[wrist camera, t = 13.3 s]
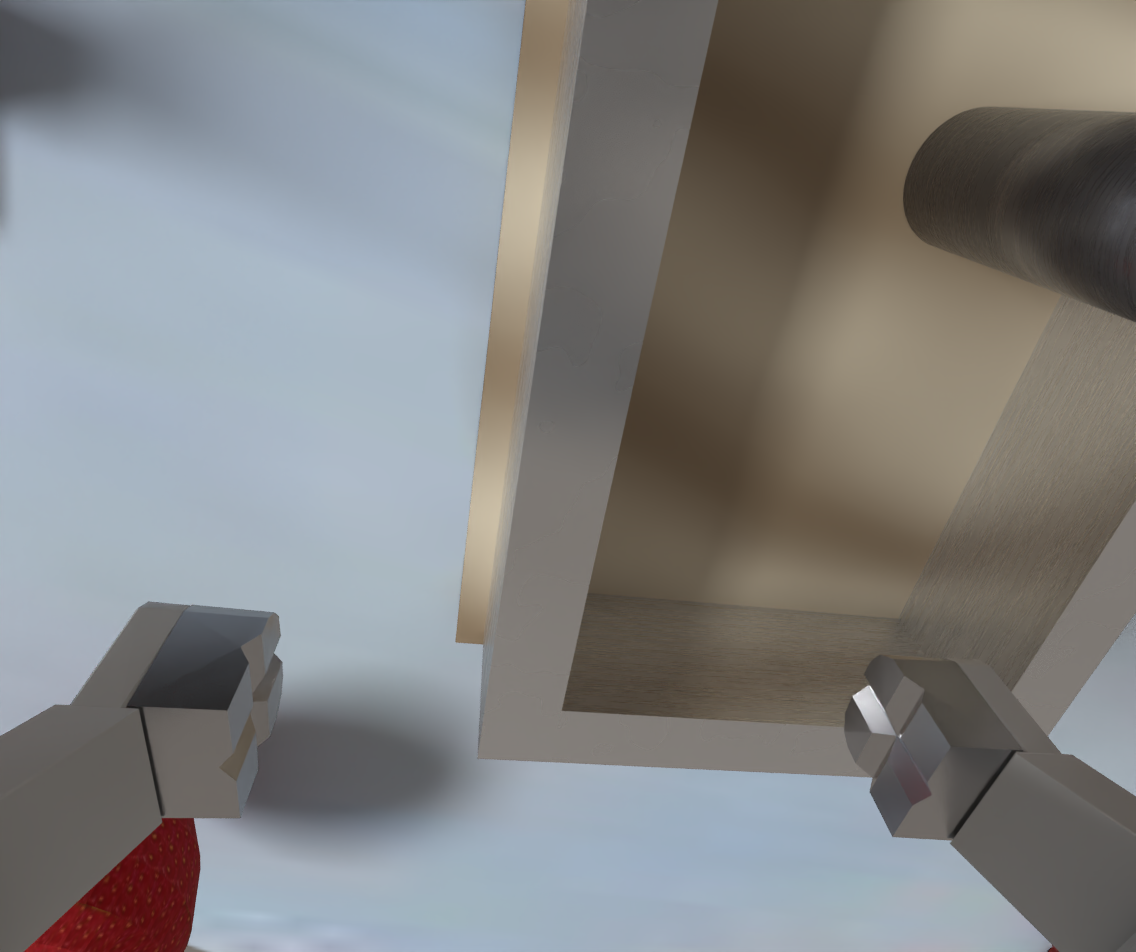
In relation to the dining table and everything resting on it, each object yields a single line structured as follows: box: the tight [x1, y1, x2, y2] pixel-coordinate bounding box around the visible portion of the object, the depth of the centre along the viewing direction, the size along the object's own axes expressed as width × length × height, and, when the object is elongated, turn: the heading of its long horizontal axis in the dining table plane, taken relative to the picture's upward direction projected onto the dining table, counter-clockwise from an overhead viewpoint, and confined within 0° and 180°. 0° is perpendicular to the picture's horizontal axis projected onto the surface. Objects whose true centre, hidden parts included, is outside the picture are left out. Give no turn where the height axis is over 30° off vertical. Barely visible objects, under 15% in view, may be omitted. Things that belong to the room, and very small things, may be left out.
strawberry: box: [24, 818, 200, 952], centre depth 18 cm, size 6×8×10 cm
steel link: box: [477, 0, 1136, 777], centre depth 13 cm, size 18×13×4 cm
